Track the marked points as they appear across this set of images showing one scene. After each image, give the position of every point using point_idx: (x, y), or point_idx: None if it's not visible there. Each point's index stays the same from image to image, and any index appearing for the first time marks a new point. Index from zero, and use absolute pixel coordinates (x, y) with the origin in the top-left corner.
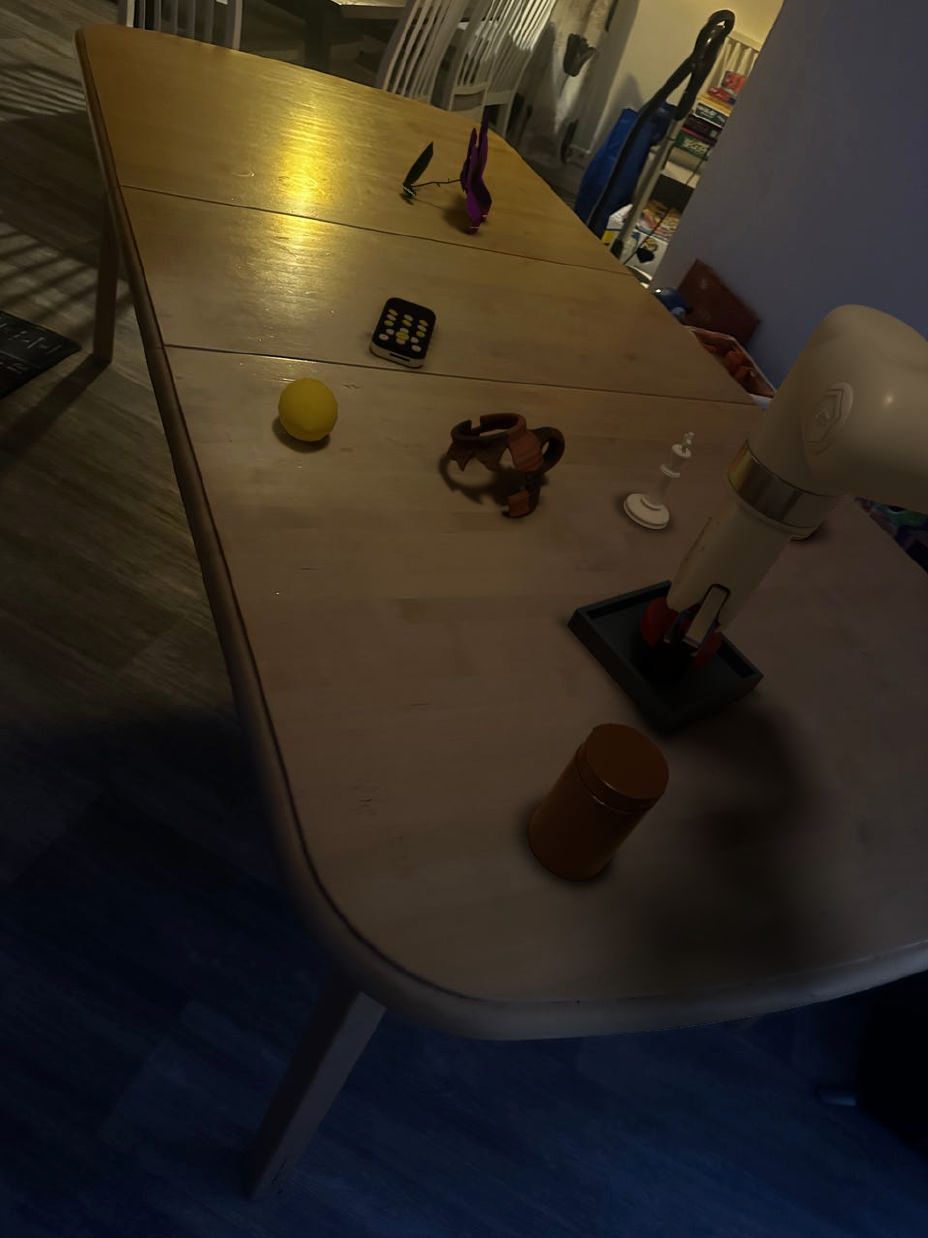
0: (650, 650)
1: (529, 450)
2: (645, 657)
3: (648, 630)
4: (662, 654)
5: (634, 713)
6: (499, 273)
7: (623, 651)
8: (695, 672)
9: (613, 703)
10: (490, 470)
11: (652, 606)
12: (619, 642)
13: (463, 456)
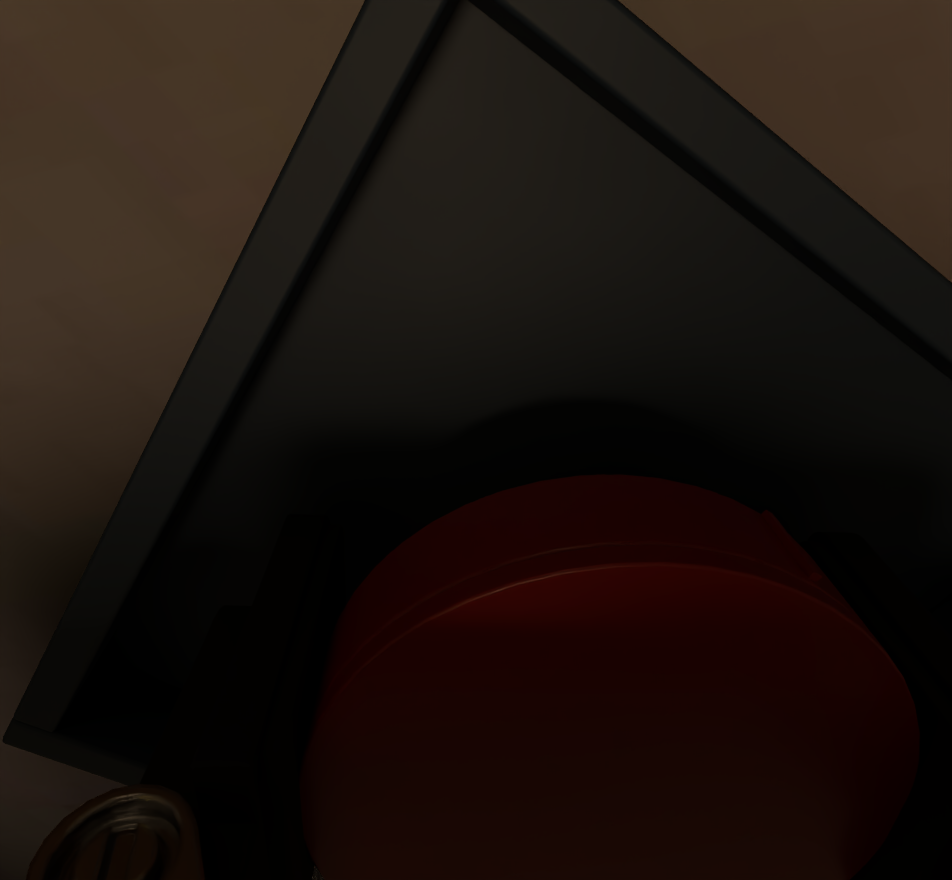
0: (273, 608)
1: None
2: (300, 554)
3: (413, 582)
4: (165, 731)
5: (69, 520)
6: None
7: (424, 384)
8: None
9: (28, 416)
10: None
11: (671, 591)
12: (490, 343)
13: None
